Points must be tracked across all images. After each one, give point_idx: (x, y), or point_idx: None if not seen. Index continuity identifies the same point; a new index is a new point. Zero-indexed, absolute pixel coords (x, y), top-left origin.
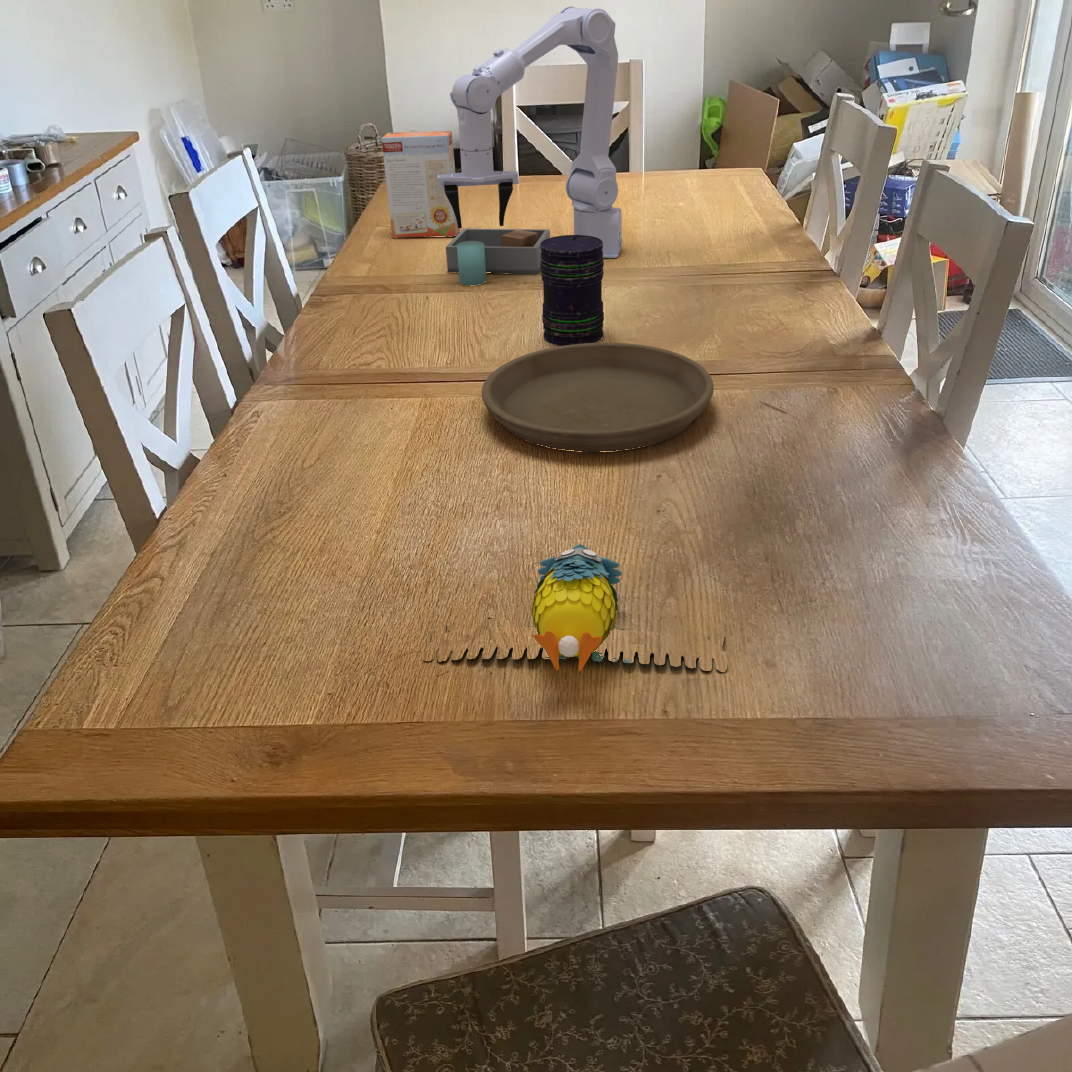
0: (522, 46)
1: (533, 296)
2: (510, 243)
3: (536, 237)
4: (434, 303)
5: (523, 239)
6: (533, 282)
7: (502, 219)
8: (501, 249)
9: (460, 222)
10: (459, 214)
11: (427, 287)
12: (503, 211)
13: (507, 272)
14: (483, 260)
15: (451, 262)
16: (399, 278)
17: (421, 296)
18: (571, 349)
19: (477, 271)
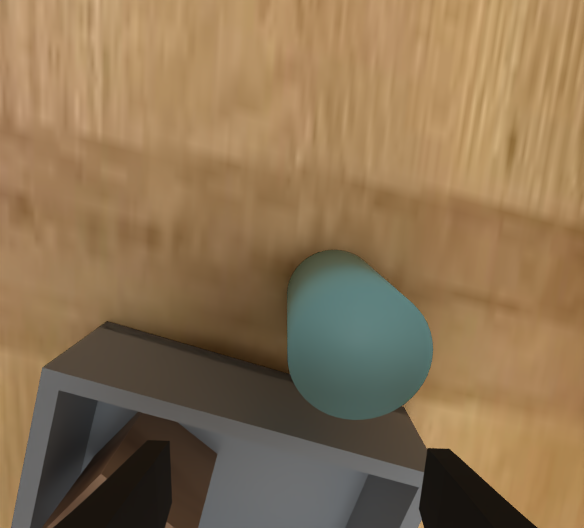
0: None
1: (127, 63)
2: None
3: (47, 522)
4: (497, 72)
5: (96, 477)
6: (123, 238)
7: (127, 466)
8: (206, 406)
9: (454, 472)
10: (497, 523)
11: (490, 270)
12: (77, 519)
13: (208, 354)
14: (296, 295)
15: (401, 426)
16: (561, 387)
17: (527, 171)
18: None
19: (323, 262)
